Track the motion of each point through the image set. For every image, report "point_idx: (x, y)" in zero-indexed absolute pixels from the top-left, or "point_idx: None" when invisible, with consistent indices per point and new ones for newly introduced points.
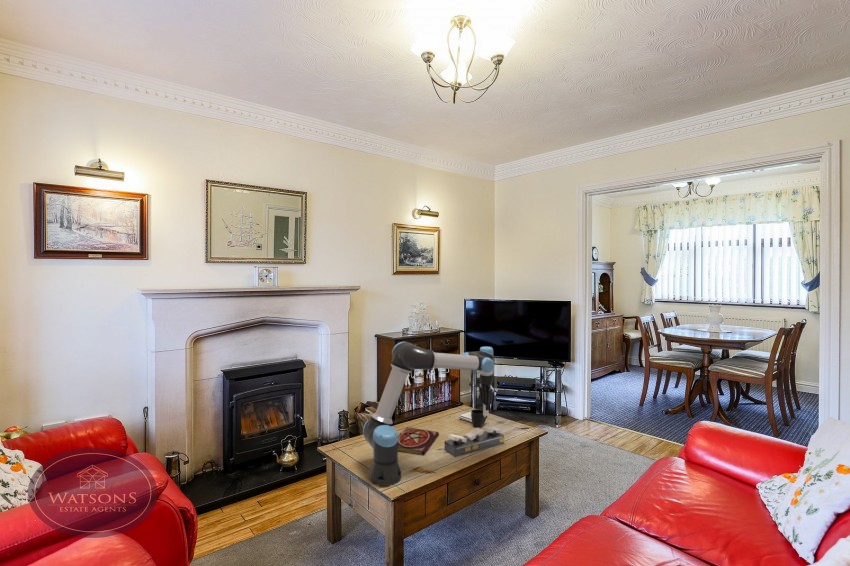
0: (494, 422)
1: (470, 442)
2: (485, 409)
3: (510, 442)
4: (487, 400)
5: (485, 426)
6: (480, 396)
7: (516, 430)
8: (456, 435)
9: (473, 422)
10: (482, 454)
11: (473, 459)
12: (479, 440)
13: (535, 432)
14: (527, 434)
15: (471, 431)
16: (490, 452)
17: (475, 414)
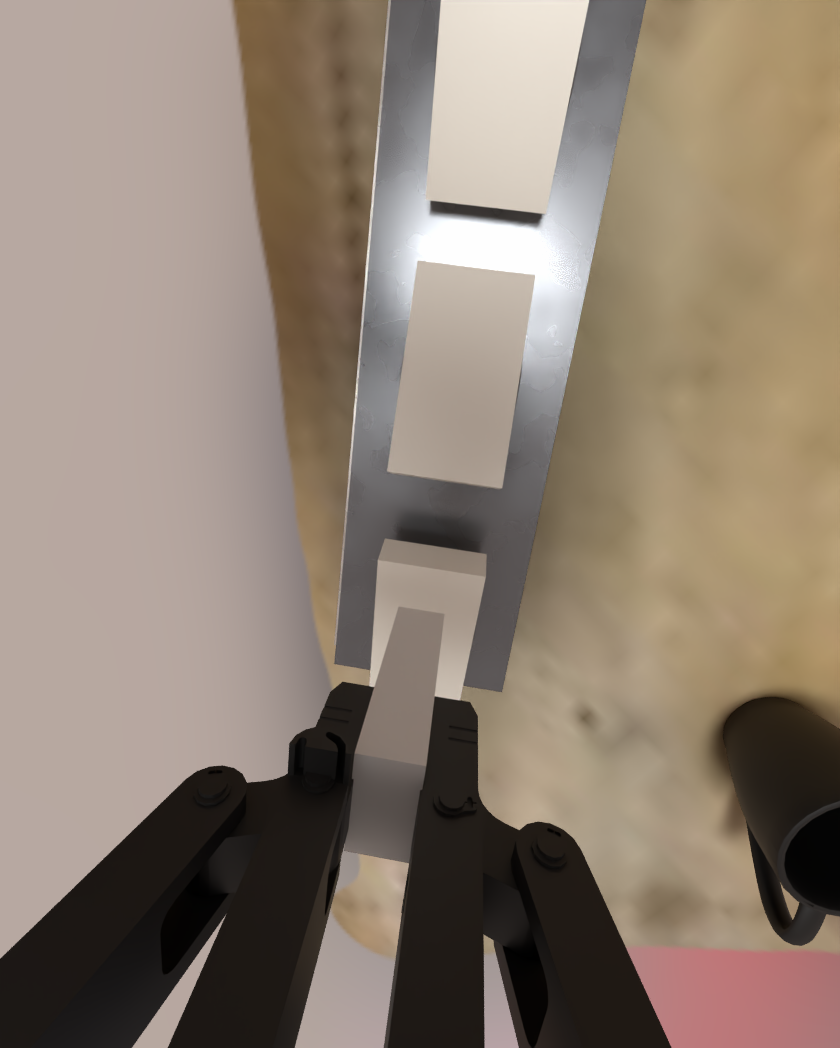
0: (702, 875)
1: (400, 243)
2: (376, 687)
3: (340, 676)
4: (243, 898)
5: (476, 598)
6: (609, 1004)
7: None
8: (549, 68)
9: (807, 718)
10: (299, 314)
11: (263, 152)
12: (378, 375)
13: (360, 914)
14: (369, 858)
15: (510, 374)
16: (290, 407)
17: (835, 788)
